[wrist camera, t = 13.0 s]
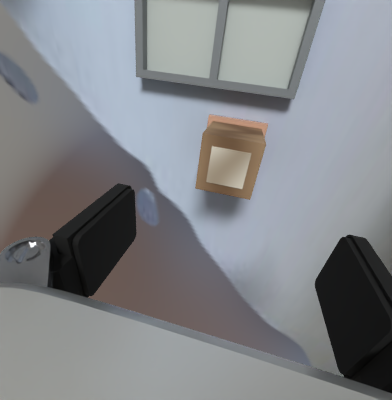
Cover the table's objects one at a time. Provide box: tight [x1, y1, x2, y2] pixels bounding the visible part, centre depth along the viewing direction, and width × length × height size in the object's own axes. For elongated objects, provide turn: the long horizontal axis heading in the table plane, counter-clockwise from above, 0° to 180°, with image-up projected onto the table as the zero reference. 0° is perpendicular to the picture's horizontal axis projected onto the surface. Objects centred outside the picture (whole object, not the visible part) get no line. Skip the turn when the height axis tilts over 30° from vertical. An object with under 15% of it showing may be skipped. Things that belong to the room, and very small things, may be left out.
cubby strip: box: [135, 0, 325, 99], centre depth 19 cm, size 15×8×1 cm, turn 83°
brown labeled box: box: [195, 121, 266, 200], centre depth 21 cm, size 5×5×6 cm
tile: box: [207, 114, 268, 138], centre depth 24 cm, size 6×6×1 cm
